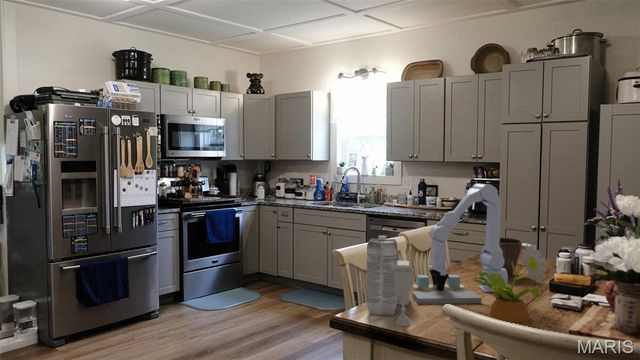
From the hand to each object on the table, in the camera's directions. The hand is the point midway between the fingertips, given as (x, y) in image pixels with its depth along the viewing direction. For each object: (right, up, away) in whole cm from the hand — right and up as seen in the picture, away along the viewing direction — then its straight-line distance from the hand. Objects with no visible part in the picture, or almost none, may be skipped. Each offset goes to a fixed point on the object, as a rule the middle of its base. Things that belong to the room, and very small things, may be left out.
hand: (438, 288), depth 202 cm
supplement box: (-19, -2, -13) cm, 23 cm away
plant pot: (+38, 0, +30) cm, 49 cm away
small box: (+56, +1, +50) cm, 75 cm away
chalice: (-21, -3, -38) cm, 43 cm away
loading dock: (0, -2, -10) cm, 11 cm away
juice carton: (-26, -3, -26) cm, 37 cm away
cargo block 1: (-6, +1, 0) cm, 7 cm away
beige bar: (0, -2, 0) cm, 2 cm away
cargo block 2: (+6, +1, 0) cm, 6 cm away
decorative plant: (+16, -3, -29) cm, 33 cm away
